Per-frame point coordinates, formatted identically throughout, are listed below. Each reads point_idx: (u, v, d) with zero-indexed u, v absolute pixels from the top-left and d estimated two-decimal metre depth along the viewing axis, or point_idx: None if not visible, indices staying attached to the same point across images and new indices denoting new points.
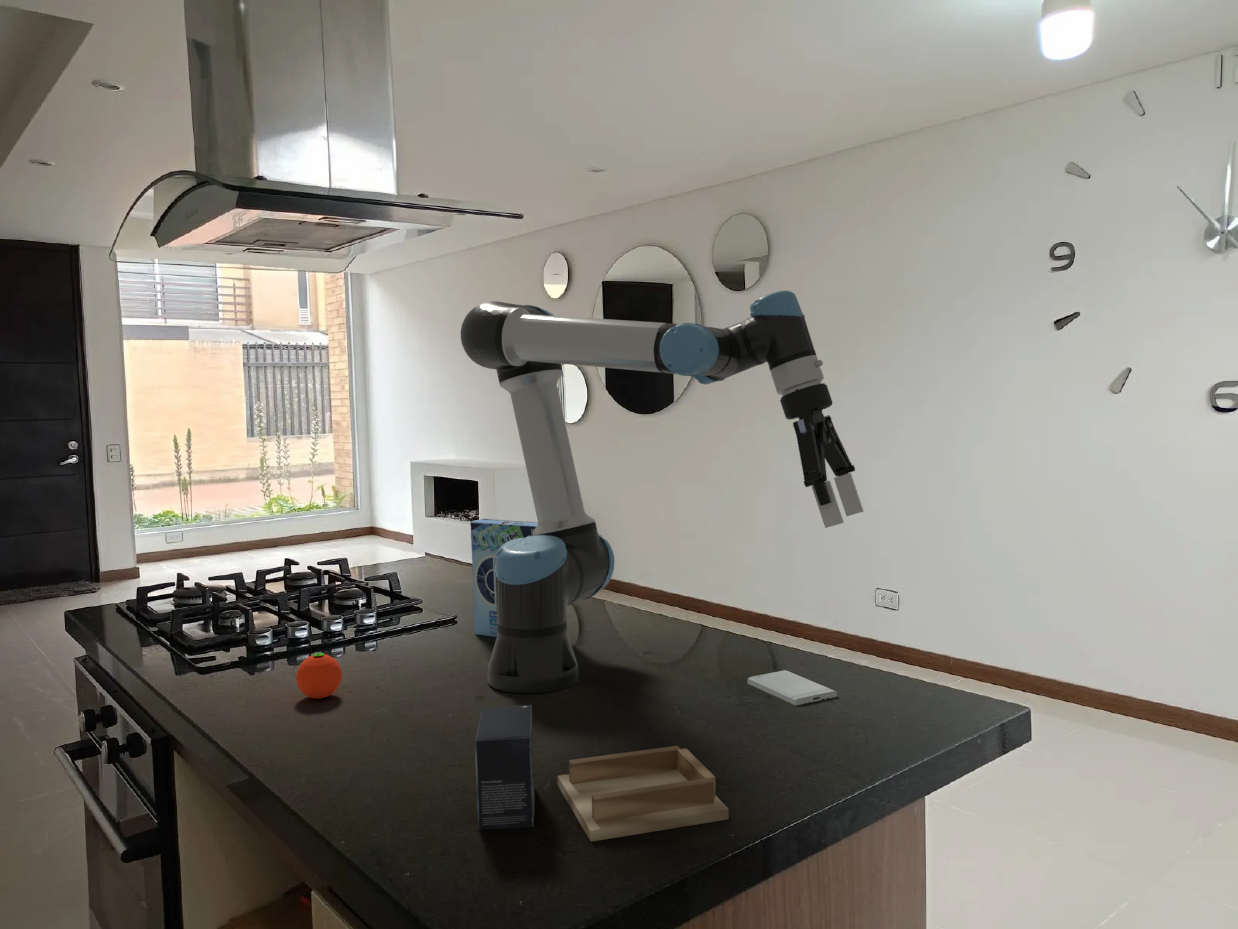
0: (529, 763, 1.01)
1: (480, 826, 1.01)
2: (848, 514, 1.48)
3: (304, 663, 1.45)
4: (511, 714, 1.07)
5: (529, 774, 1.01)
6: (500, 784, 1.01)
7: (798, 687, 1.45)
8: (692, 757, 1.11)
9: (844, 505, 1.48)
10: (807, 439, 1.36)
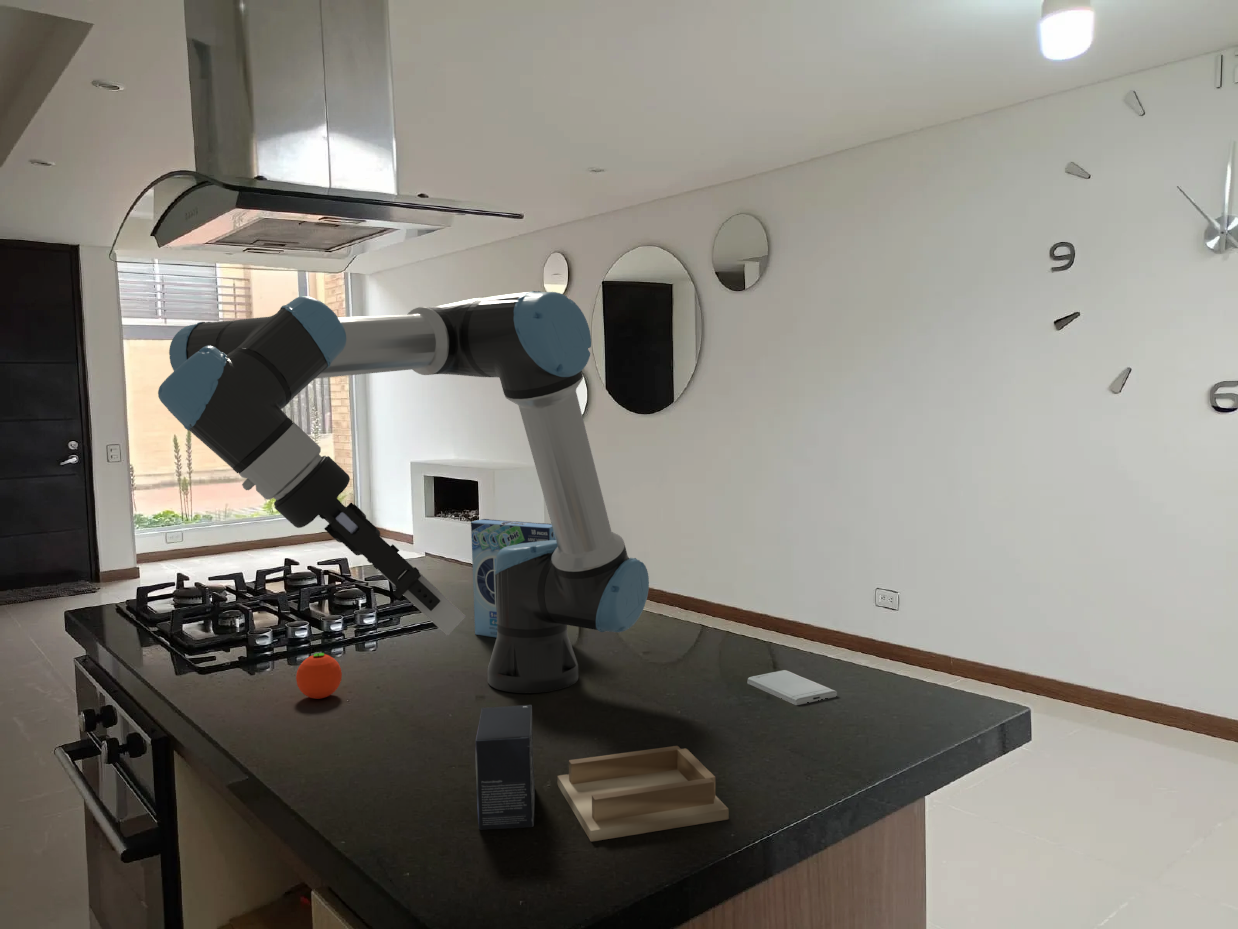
0: (529, 763, 1.01)
1: (480, 826, 1.01)
2: None
3: (304, 663, 1.45)
4: (511, 714, 1.07)
5: (529, 774, 1.01)
6: (500, 784, 1.01)
7: (798, 687, 1.46)
8: (692, 757, 1.11)
9: None
10: None
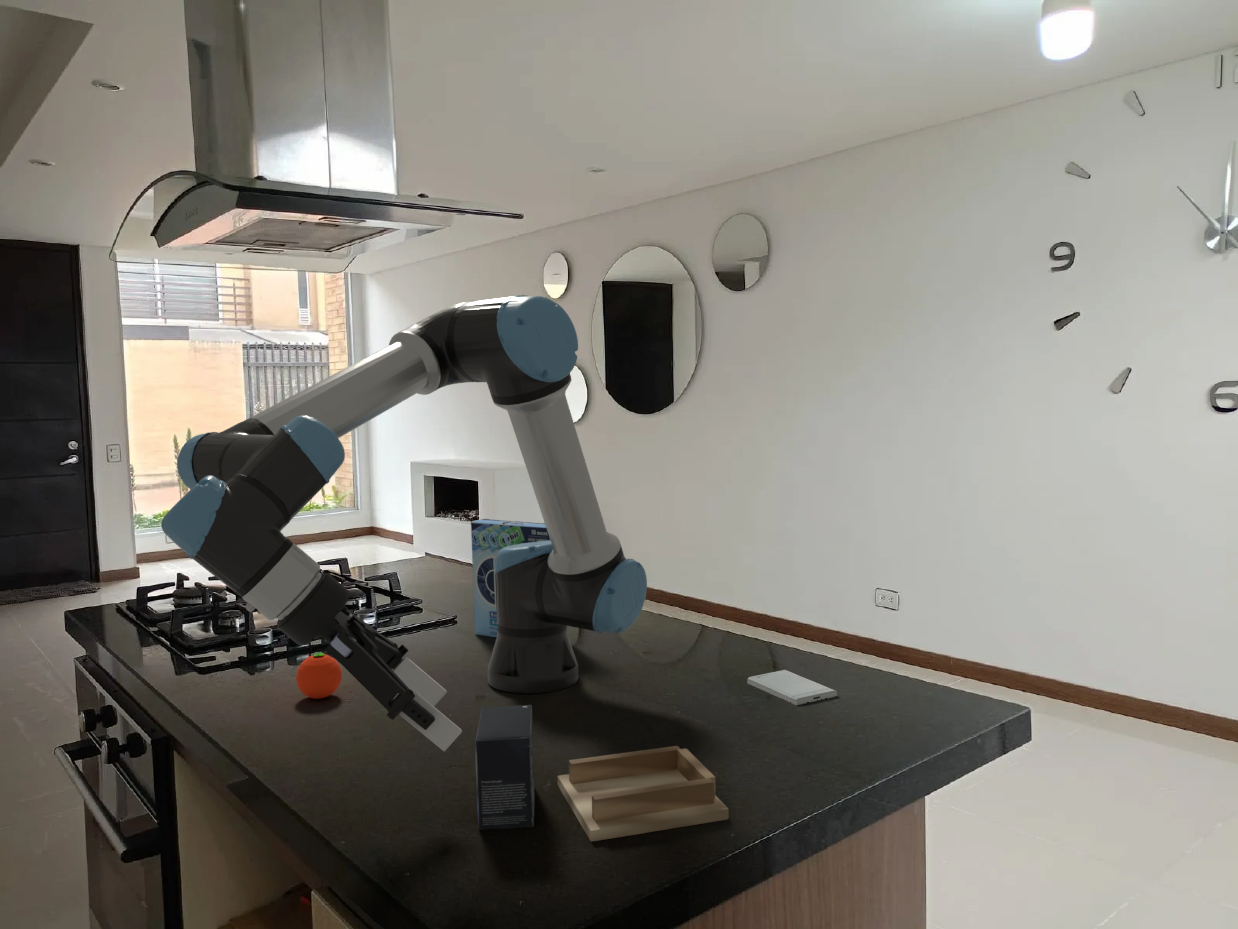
0: (529, 763, 1.01)
1: (480, 826, 1.01)
2: None
3: (304, 663, 1.45)
4: (511, 714, 1.07)
5: (529, 774, 1.01)
6: (500, 784, 1.01)
7: (798, 687, 1.46)
8: (692, 757, 1.11)
9: None
10: None
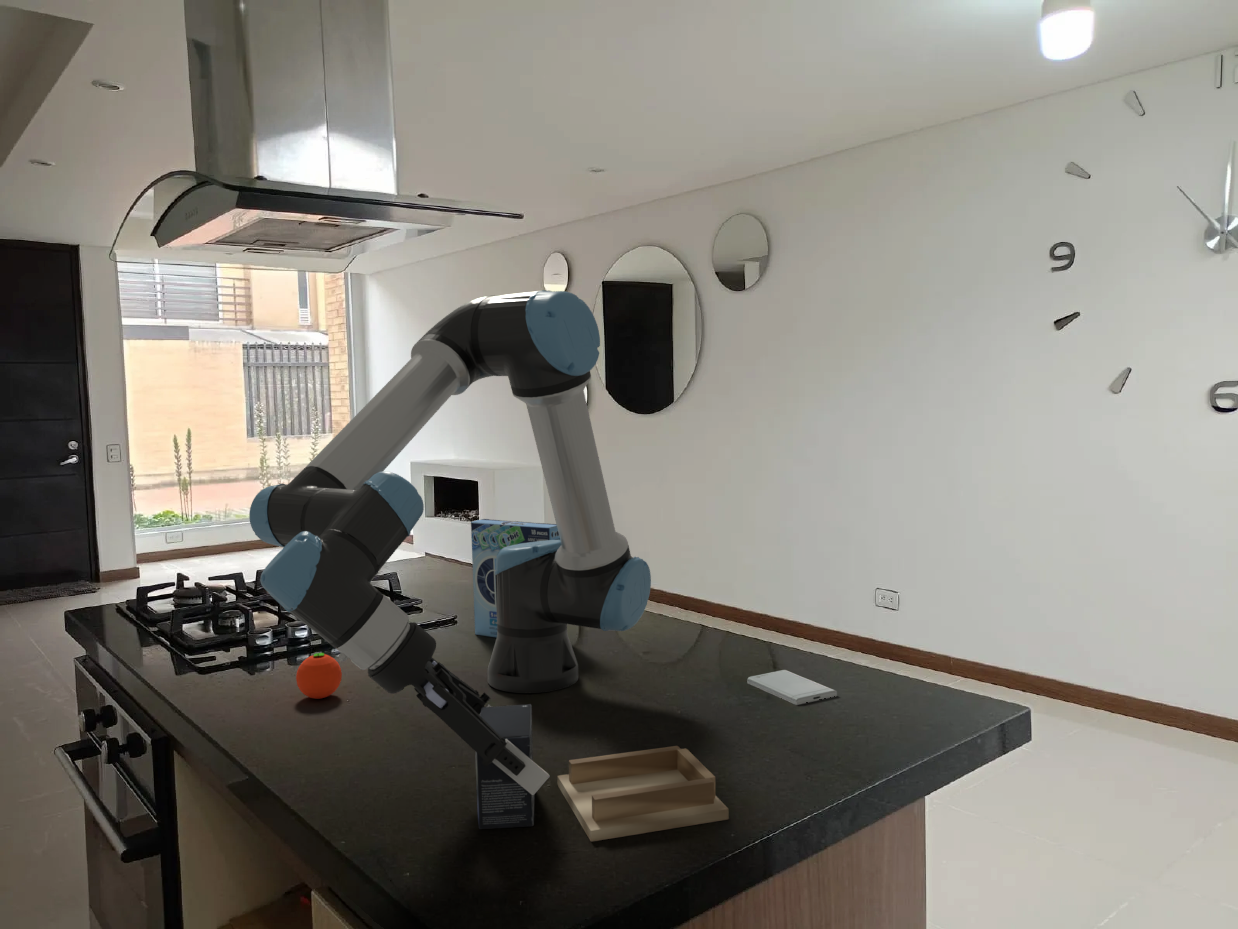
0: None
1: (480, 825, 1.01)
2: None
3: (304, 663, 1.45)
4: (511, 714, 1.08)
5: None
6: (500, 784, 1.01)
7: (798, 687, 1.46)
8: (692, 757, 1.11)
9: None
10: None
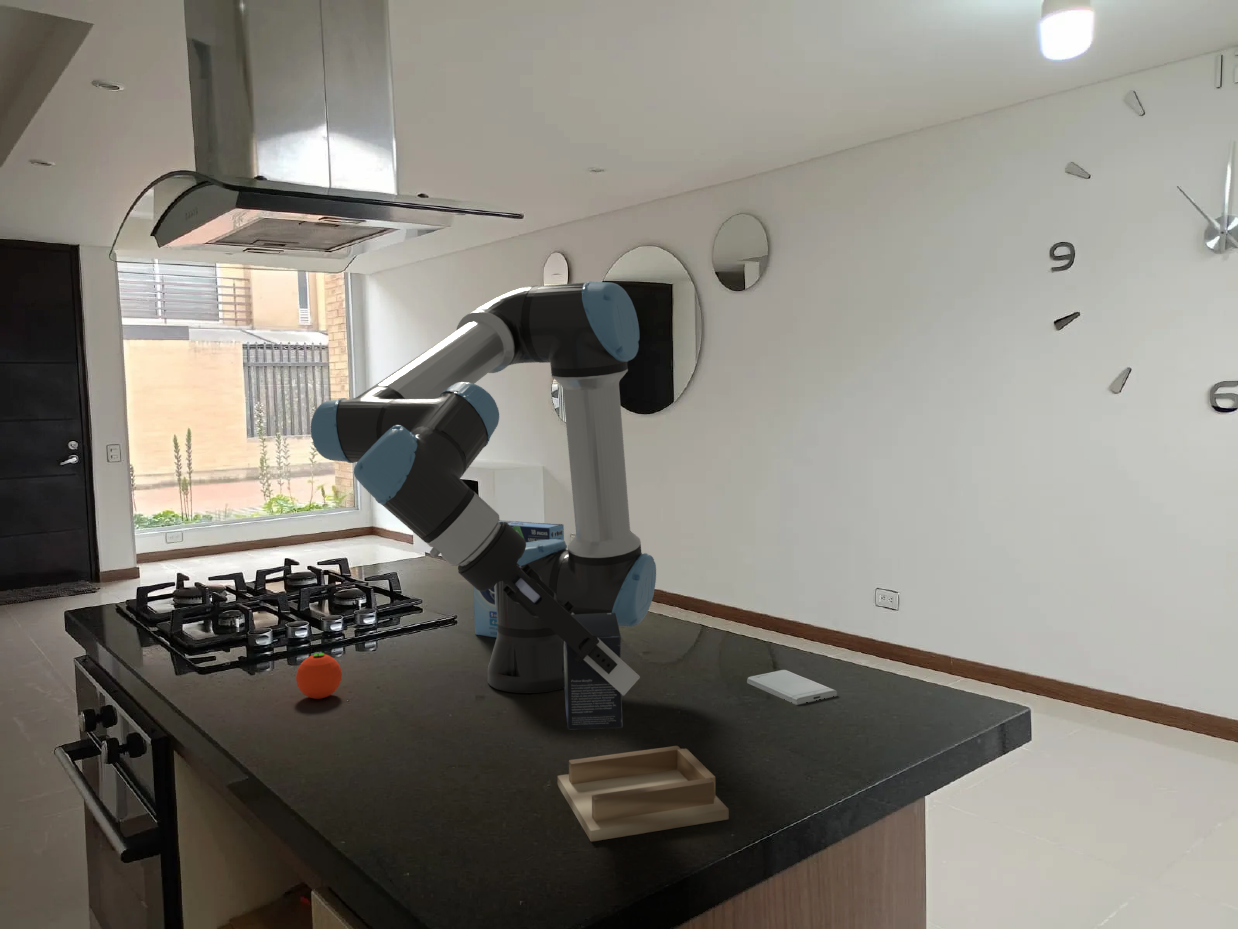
0: None
1: (569, 726, 1.00)
2: None
3: (304, 663, 1.45)
4: (597, 619, 1.07)
5: None
6: (589, 684, 1.00)
7: (798, 687, 1.46)
8: (692, 757, 1.11)
9: None
10: None
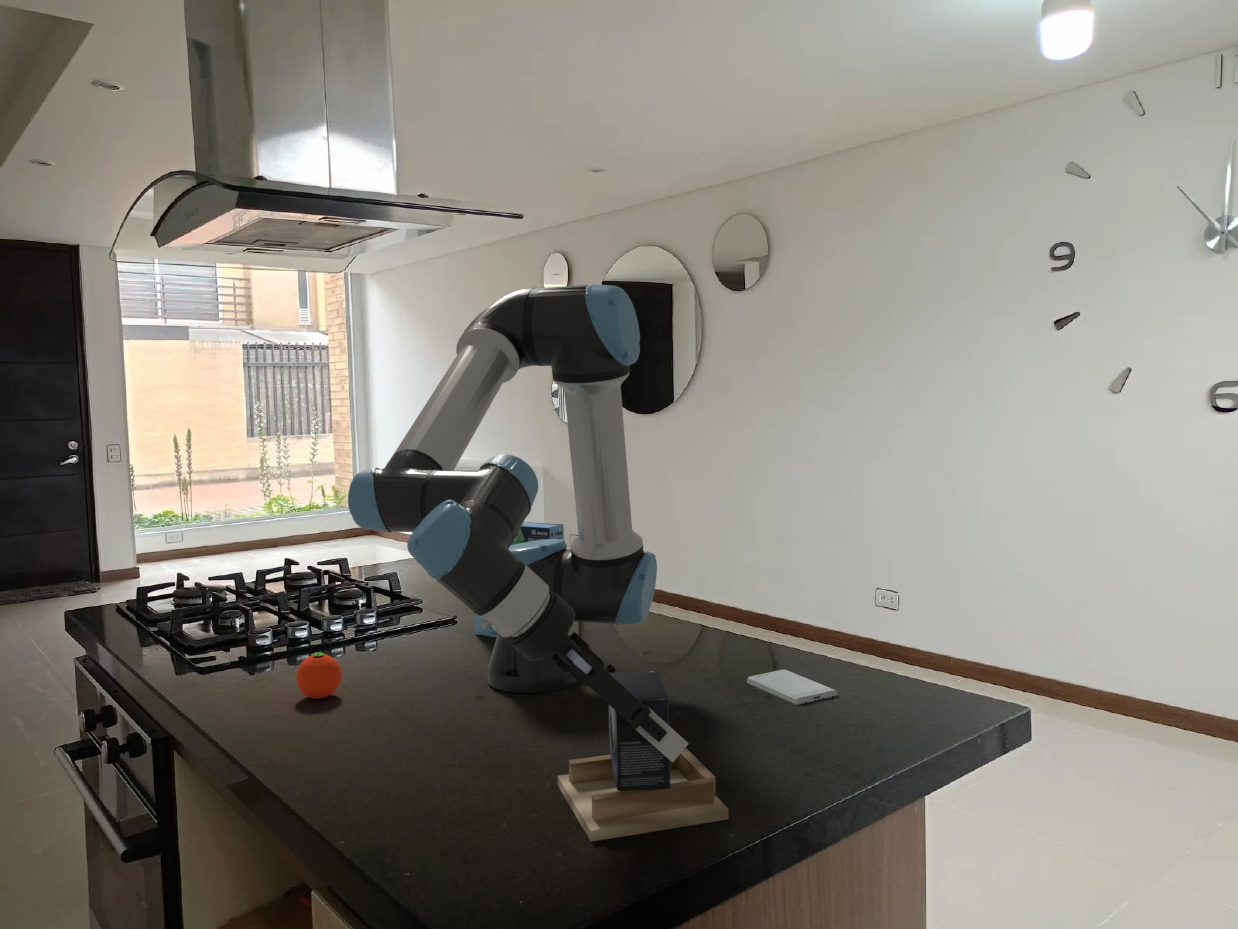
0: None
1: (619, 787, 1.02)
2: None
3: (304, 663, 1.45)
4: (641, 678, 1.08)
5: None
6: (638, 745, 1.02)
7: (798, 687, 1.46)
8: (692, 757, 1.11)
9: None
10: None
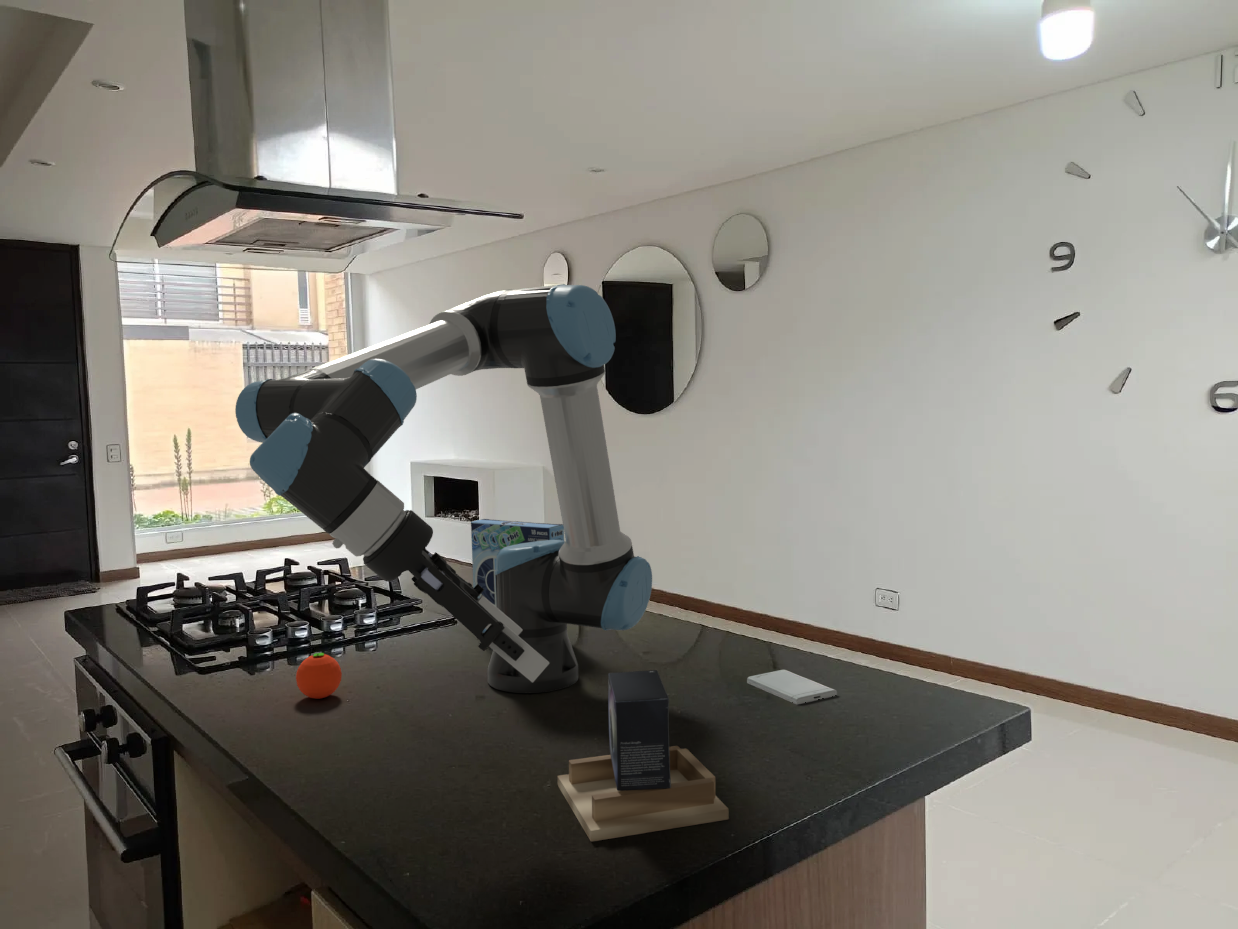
0: (667, 724, 1.02)
1: (619, 787, 1.02)
2: None
3: (304, 663, 1.45)
4: (641, 678, 1.08)
5: (667, 735, 1.02)
6: (638, 745, 1.02)
7: (798, 686, 1.46)
8: (692, 757, 1.11)
9: None
10: None
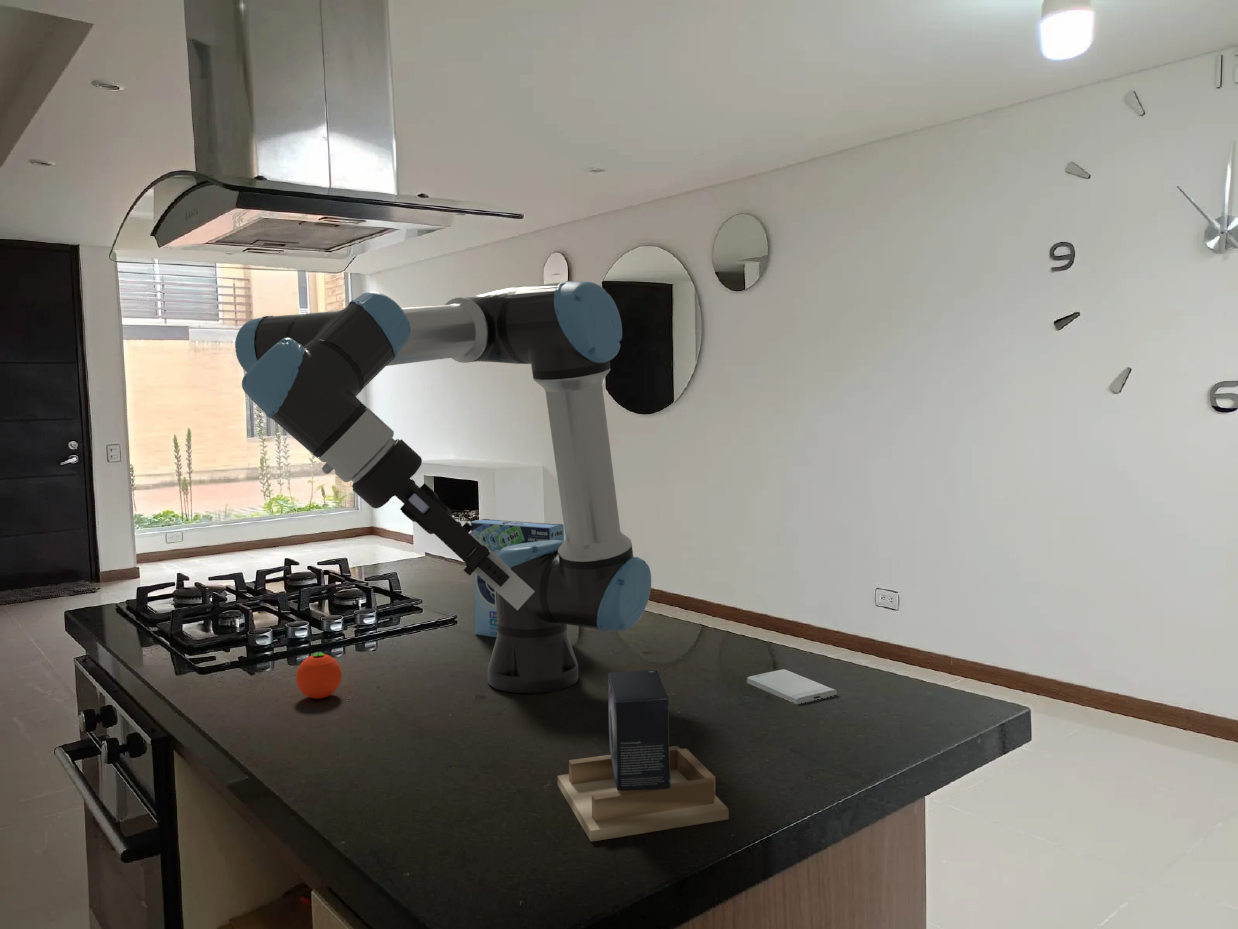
0: (667, 724, 1.02)
1: (619, 787, 1.02)
2: None
3: (304, 663, 1.45)
4: (641, 678, 1.08)
5: (667, 735, 1.02)
6: (638, 745, 1.02)
7: (798, 686, 1.46)
8: (692, 757, 1.11)
9: None
10: None
